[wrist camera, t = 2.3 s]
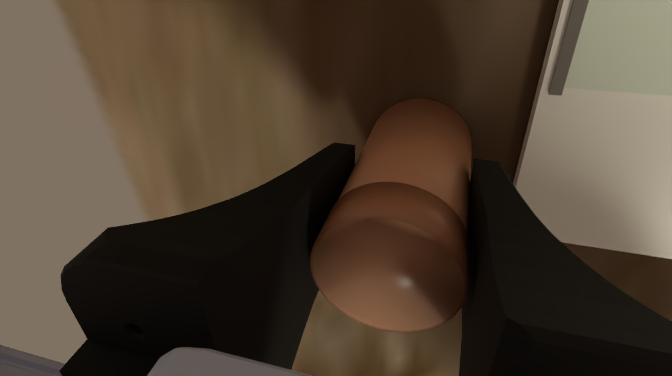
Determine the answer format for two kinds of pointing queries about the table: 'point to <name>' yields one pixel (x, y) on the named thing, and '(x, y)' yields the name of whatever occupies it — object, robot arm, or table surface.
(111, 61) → the table surface
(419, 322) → the brown rounded cylinder
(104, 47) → the table surface
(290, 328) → the robot arm
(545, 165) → the white flat panel
